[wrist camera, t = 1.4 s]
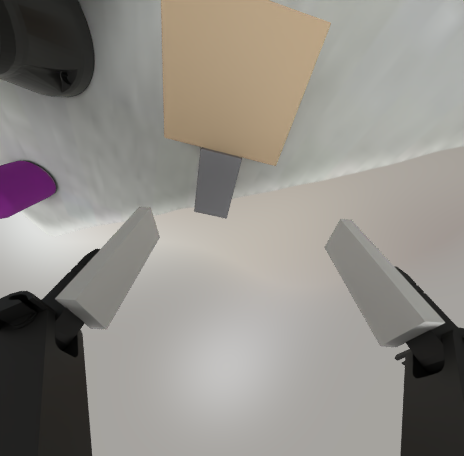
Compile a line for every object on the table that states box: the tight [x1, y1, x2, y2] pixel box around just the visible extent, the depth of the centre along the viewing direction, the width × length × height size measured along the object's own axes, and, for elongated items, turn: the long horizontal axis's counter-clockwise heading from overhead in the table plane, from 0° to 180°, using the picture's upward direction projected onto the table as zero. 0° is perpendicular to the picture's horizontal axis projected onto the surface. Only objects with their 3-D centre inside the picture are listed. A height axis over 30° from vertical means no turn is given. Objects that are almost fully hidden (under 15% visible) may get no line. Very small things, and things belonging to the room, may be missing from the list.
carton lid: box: [161, 0, 331, 218], centre depth 19 cm, size 14×21×2 cm, turn 167°
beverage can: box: [0, 161, 56, 219], centre depth 31 cm, size 8×8×12 cm
